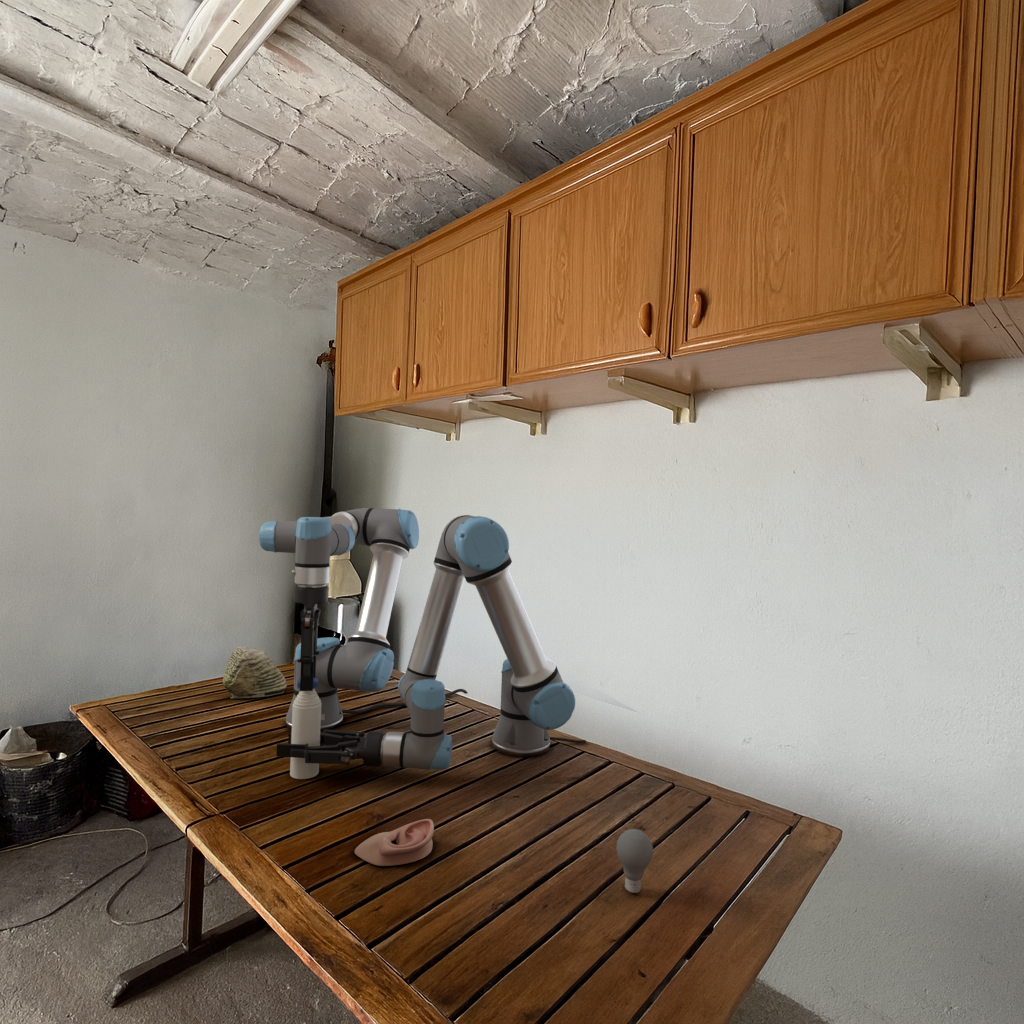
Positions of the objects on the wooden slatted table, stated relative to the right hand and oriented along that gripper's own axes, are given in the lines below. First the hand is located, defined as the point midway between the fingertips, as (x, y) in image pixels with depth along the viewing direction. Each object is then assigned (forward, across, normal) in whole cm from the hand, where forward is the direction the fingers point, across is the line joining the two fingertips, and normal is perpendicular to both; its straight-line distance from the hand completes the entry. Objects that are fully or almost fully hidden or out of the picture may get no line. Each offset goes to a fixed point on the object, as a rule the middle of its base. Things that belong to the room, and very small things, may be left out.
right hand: (283, 743), depth 145 cm
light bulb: (-74, -38, -6) cm, 83 cm away
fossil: (+29, +53, -6) cm, 61 cm away
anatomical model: (-32, -29, -6) cm, 44 cm away
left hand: (-5, 0, +13) cm, 14 cm away
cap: (-5, 0, +15) cm, 16 cm away
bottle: (-5, 0, -6) cm, 8 cm away
